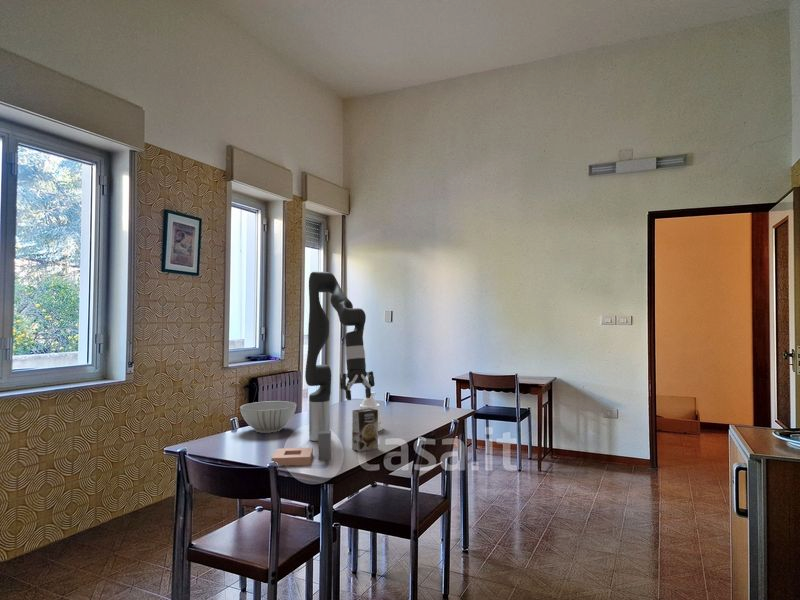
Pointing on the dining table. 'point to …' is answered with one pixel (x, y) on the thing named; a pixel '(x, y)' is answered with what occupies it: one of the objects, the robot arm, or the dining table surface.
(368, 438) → the coffee box
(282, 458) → the socket
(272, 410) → the decorative bowl
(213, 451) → the dining table surface
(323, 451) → the plug
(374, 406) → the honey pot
